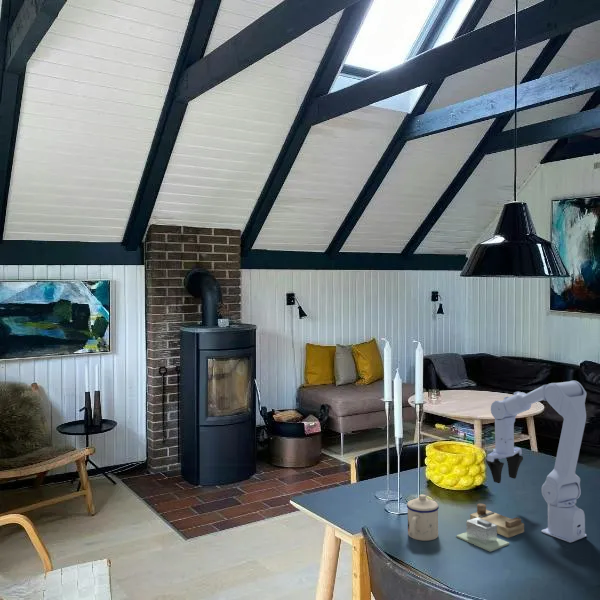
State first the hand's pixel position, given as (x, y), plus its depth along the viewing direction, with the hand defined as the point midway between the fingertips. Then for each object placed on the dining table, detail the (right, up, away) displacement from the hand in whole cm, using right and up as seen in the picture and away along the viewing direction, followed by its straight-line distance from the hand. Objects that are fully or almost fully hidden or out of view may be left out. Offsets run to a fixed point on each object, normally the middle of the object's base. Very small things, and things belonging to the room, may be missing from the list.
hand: (504, 480), depth 199 cm
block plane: (-7, -10, -14) cm, 19 cm away
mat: (-14, -10, -24) cm, 29 cm away
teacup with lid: (-31, -11, -20) cm, 38 cm away
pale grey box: (-14, -10, -23) cm, 29 cm away
